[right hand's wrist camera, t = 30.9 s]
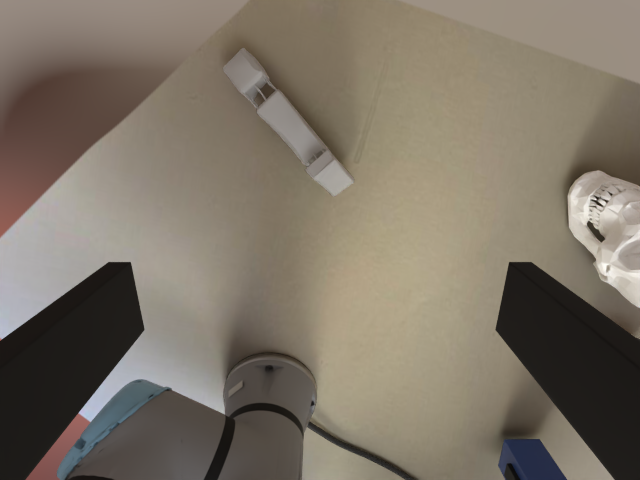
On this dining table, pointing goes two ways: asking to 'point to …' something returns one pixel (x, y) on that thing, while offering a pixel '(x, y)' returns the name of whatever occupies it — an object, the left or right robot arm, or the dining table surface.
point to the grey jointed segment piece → (288, 123)
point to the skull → (609, 228)
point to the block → (529, 460)
